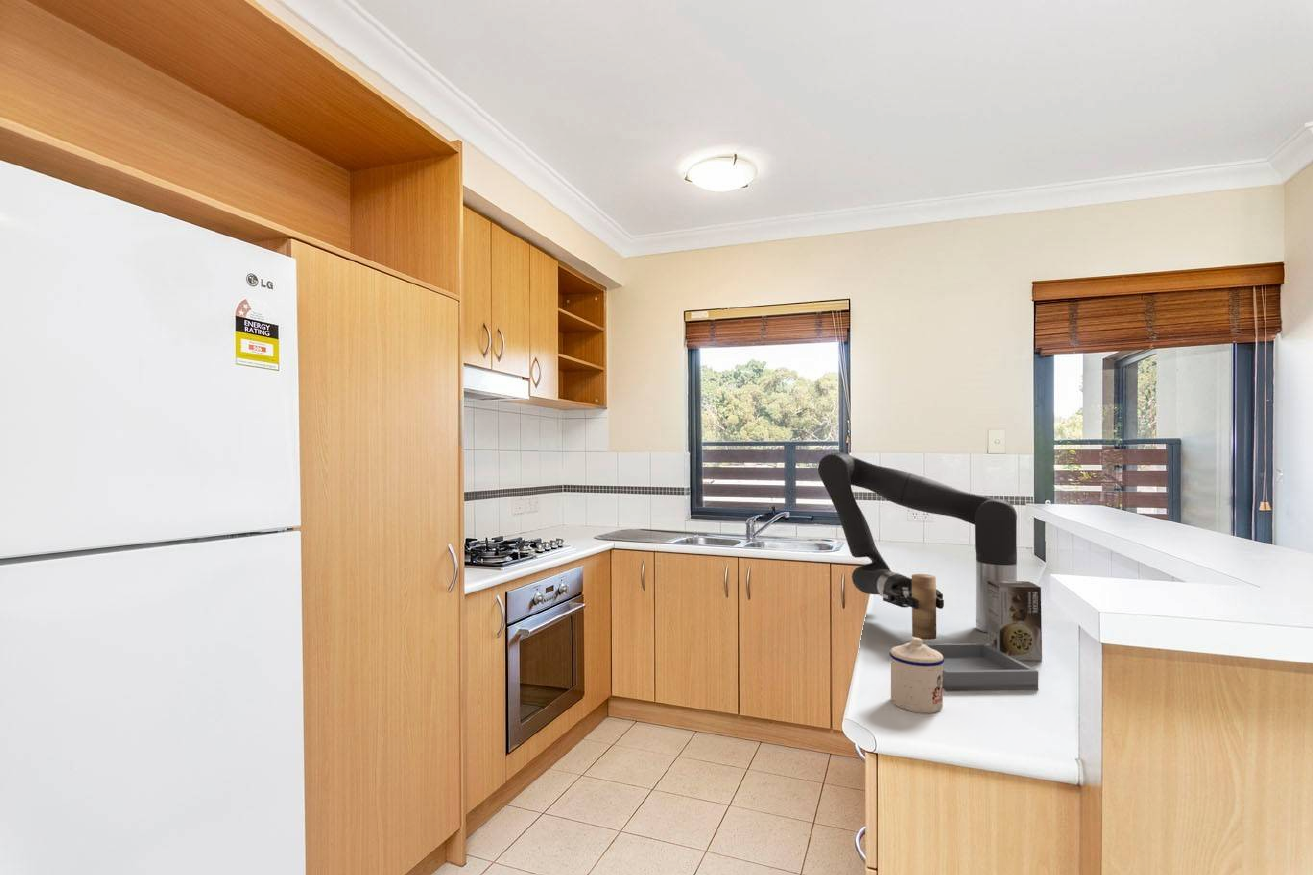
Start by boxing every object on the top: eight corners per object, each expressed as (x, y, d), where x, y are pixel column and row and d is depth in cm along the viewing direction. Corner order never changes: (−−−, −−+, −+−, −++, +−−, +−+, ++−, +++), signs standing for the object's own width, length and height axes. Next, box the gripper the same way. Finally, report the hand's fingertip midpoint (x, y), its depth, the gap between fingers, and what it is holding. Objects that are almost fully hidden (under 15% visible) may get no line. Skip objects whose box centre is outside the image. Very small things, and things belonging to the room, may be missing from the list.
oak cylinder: (929, 633, 153) (929, 573, 154) (940, 639, 148) (939, 578, 148) (908, 633, 153) (907, 574, 153) (918, 639, 148) (917, 578, 148)
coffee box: (1029, 652, 147) (1028, 580, 147) (1043, 661, 140) (1043, 586, 140) (986, 650, 147) (986, 579, 148) (998, 659, 141) (998, 585, 141)
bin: (984, 659, 141) (984, 643, 141) (1038, 689, 123) (1038, 671, 123) (904, 660, 140) (904, 643, 140) (946, 690, 122) (946, 672, 122)
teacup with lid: (945, 717, 110) (945, 648, 110) (888, 709, 113) (888, 642, 113) (942, 693, 121) (942, 630, 121) (890, 686, 124) (890, 625, 125)
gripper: (869, 574, 165) (898, 588, 148) (924, 573, 166) (959, 587, 149) (869, 604, 165) (899, 621, 148) (924, 603, 165) (960, 620, 149)
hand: (929, 604), depth 148 cm, fingers closed on oak cylinder, 5 cm apart
